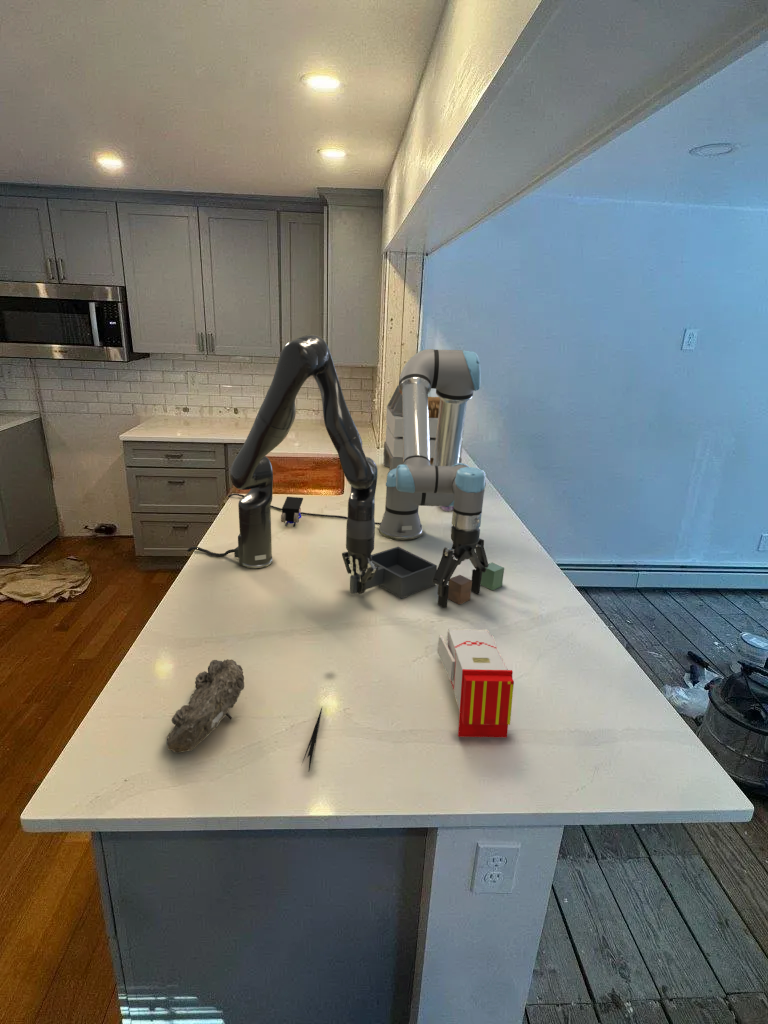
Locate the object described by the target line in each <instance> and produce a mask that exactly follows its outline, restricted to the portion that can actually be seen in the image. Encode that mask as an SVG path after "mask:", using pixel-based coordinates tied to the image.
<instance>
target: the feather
mask: <svg viewBox="0 0 768 1024" xmlns="http://www.w3.org/2000/svg"><path fill="white" fill-rule="evenodd" d="M329 675H330V676H331V675H332V674H331V673H330V674H329ZM322 710H323V707H321V708H320V710H319V713H318V716H317V719H316V723H315V725H314V728H313V731H312V733H311V737H310V739H309V742H308V745H307V748H306V751H305V754H304V757H303V760H302V763H301V767H302V765H303V763H304V761H305V758H308V759H309V760H308V762H307V763H308V764H307V766H308V771H310V770H311V766H312V765H311V764H312V760H313V757H315V756H314V755H315V751H316V749H315V746H317V739H318V733H319V729H320V722H321V717H322V712H323V711H322ZM313 754H314V755H313ZM306 755H307V757H306Z"/></svg>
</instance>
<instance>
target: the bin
mask: <svg viewBox="0 0 768 1024" xmlns="http://www.w3.org/2000/svg"><path fill="white" fill-rule="evenodd" d="M371 557H372V563H373V565H374V566H378V570H377V572H376V573H375V575H374V577H373V578H372V580H370V581H367V582H366V590H369V589H372V588H375V587H377V586H378V587H380V588H382V589H384V590H386V591H387V592H389V593H390V594H392V595H394V596H396V597H397V598H399V599H404V598H407V597H409V596H411V595H414V594H416V593H419V592H421V591H424V590H427V589H429V588H432V587H435V586H436V584H435V583H433V578H434V576H435V573H436V571H437V568H438V565H437V564H435V563H433V562H431V561H428V560H426V559H425V558H423V557H420V556H418V555H416V554H414V553H412V552H410V551H408V550H406V549H404V548H402V547H400V546H395V547H391V548H389V549H386V550H383V551H379V552H375V553H372V554H371ZM362 577H363V574H362ZM357 583H358V574H356V575H353V576H351V575H350V577H349V593H351V594H352V595H355V594H358V593H357Z"/></svg>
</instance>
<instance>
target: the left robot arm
mask: <svg viewBox="0 0 768 1024" xmlns="http://www.w3.org/2000/svg"><path fill="white" fill-rule="evenodd" d="M276 364H277V365H276V368H275V371H274V373H273V374H274V375H273V378H272V381H271V383H270V384H269V387H268V390H267V392H266V394H265V397H264V398H263V402H262V404H261V406H260V407H259V410H258V412H257V414H256V416H255V418H254V422H253V424H252V427H251V429H250V431H249V433H248V435H247V436H246V439H245V441H244V443H243V445H242V446H241V448H240V449H239V451H238V453H237V454H236V456H235V458H234V459H233V461H232V463H231V466H230V470H229V471H230V473H229V474H230V475H229V477H230V481H231V484H232V485H233V487H234V488H236V489H237V490H240V491H247V490H249V491H248V492H247V493H246V494H245V495H244V497H241V498H240V499H239V501H238V505H237V506H238V523H239V524H238V525H239V526H238V527H239V534H238V535H237V546H236V547H235V548H232V549H227V550H226V551H224V552H223V553H217V552H212V551H210V550H209V549H205V548H203V547H199V546H191V547H189V548H188V549H187V550H186V552H191V551H193V550H195V551H200V552H201V553H205V554H207V555H209V556H212V557H217V558H220V557H226V556H228V555H229V554H231V553H232V554H234V558H236V559H237V558H238V565H239V566H240V567H241V566H242V567H244V568H247V569H262V568H266V567H269V566H270V565H272V563H273V547H272V546H273V545H272V513H271V512H272V510H271V506H272V502H273V495H274V494H273V490H274V488H273V487H274V471H273V469H274V468H273V465H272V463H271V460H270V458H269V457H267V455H268V454H270V453H271V452H272V451H273V450H274V449H276V447H278V446H279V445H280V444H281V443H282V442H283V441H284V440H285V439H286V438H287V436H288V434H289V433H290V431H291V430H290V429H291V428H292V427H293V424H294V423H295V420H296V414H297V409H296V398H297V396H298V394H299V392H300V390H301V389H302V387H303V385H304V384H305V382H306V380H308V379H309V378H310V377H312V378H313V379H314V380H315V382H316V384H317V387H318V389H319V393H320V398H321V405H322V415H323V422H324V427H325V429H326V433H327V434H328V436H329V438H330V441H331V443H332V445H333V448H334V449H335V450H336V452H337V455H338V460H339V463H340V465H341V466H340V467H341V469H342V472H343V474H344V477H345V479H346V481H347V482H348V484H349V485H350V494H349V497H348V501H347V517H348V518H347V519H346V525H345V527H346V528H345V530H346V531H345V533H346V534H345V549H346V550H347V551H344V552H342V553H341V557H342V560H343V564H344V566H345V568H346V573H347V574H348V575H350V576H353V575H356V574H358V583H357V593H356V594H359V595H361V594H364V593H365V592H366V590H367V589H366V582H367V581H370V580H372V578H373V577H374V575H375V573H376V572H377V570H378V566H374V565H373V563H372V557H371V555H372V554H373V551H375V534H376V524H375V521H376V520H375V514H376V513H375V510H376V502H375V498H376V491H377V483H378V466H377V463H376V462H375V461H374V460H373V459H372V458H371V457H368V456H366V453H365V451H364V449H363V440H362V437H361V435H360V432H359V430H358V429H357V425H356V424H355V422H354V420H353V417H352V415H351V413H350V411H349V408H348V406H347V403H346V400H345V397H344V393H343V390H342V387H341V384H340V380H339V377H338V373H337V371H336V370H337V369H336V368H335V367H336V366H335V363H334V360H333V357H332V353H331V351H330V348H329V346H328V344H327V342H326V341H325V340H324V339H323V338H322V337H321V336H319V335H317V334H313V333H310V334H306V335H303V336H300V337H297V338H294V339H292V340H289V342H287V343H286V344H285V346H283V348H282V350H281V352H280V353H279V358H278V360H277V363H276ZM197 548H198V549H197ZM362 574H363V577H362Z"/></svg>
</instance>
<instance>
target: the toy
mask: <svg viewBox="0 0 768 1024" xmlns="http://www.w3.org/2000/svg"><path fill="white" fill-rule="evenodd" d="M446 640H447V643H446V641H445V639H444V636H443V635H442V634H439V637H438V646H437V656H438V657H439V659H440V661H441V663H442V666H443V668H444V670H445V672H446V674H447V677H448V679H449V681H450V684H451V687H452V690H453V693H454V697H455V701H456V705H457V708H458V711H459V714H458V715H459V716H458V730H457V731H458V732H457V737H458V738H508V731H509V726H510V725H511V717H512V707H513V697H514V696H513V695H514V684H515V680H514V679H513V673H514V671H513V670H512V669H508V667H507V665H506V662H505V661H504V659H503V658H502V655H501V653H500V651H499V649H498V647H497V643H496V639H495V637H494V635H493V634H491V632H490V631H489V629H467V628H466V629H465V628H463V629H461V628H460V629H459V628H448V630H447V639H446Z"/></svg>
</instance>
